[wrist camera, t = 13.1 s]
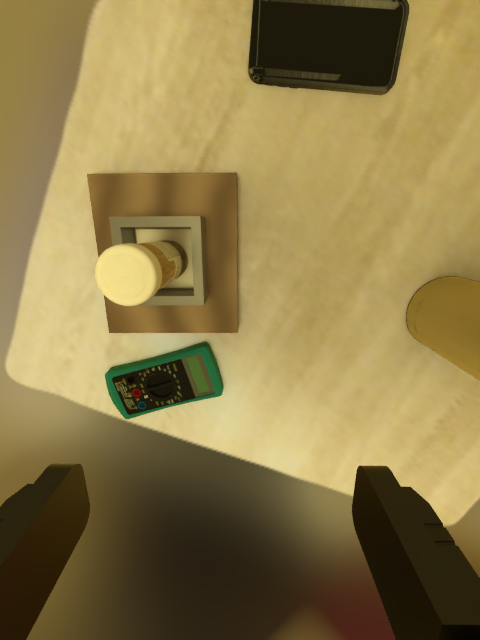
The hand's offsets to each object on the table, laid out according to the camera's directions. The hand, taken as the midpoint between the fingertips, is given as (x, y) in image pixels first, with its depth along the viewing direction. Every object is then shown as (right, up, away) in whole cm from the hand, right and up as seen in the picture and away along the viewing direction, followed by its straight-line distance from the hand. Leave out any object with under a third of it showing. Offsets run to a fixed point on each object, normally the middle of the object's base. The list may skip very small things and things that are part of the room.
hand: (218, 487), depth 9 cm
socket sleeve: (-8, +12, +26) cm, 29 cm away
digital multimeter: (-9, -3, +33) cm, 35 cm away
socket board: (-8, +13, +28) cm, 31 cm away
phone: (+9, +33, +22) cm, 41 cm away
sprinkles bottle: (-8, +12, +26) cm, 29 cm away
